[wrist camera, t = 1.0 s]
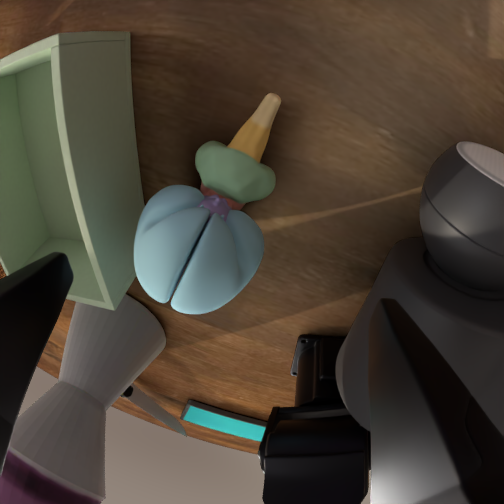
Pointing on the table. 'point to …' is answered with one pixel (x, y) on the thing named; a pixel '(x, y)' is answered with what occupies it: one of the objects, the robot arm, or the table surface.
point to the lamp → (79, 407)
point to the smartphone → (223, 421)
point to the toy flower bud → (208, 223)
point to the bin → (71, 161)
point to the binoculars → (446, 281)
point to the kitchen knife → (152, 408)
